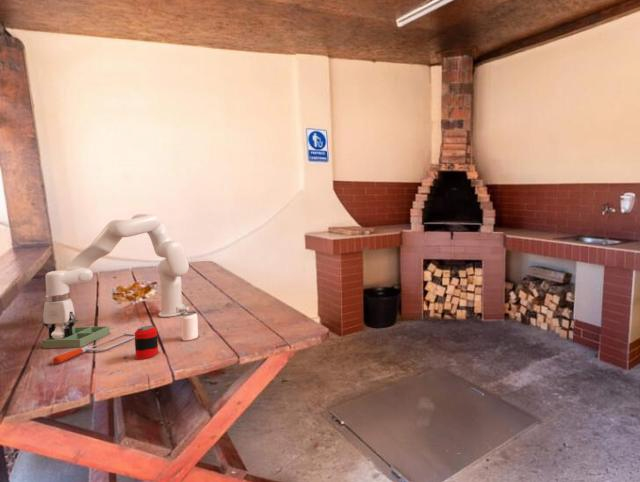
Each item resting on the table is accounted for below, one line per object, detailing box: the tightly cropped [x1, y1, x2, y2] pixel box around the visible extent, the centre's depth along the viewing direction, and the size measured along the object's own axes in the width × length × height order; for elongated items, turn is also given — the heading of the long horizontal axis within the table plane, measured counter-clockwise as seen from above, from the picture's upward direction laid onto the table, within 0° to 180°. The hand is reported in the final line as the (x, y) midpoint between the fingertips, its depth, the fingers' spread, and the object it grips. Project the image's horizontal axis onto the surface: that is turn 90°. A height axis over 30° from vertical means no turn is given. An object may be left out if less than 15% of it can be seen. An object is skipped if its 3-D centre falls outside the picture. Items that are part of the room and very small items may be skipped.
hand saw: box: [52, 332, 135, 365], centre depth 174 cm, size 33×3×10 cm
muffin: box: [51, 324, 66, 340], centre depth 179 cm, size 6×6×7 cm
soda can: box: [134, 325, 159, 360], centre depth 166 cm, size 8×8×12 cm
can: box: [180, 310, 199, 342], centre depth 184 cm, size 6×6×12 cm
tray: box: [41, 325, 111, 349], centre depth 183 cm, size 16×16×4 cm
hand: (61, 336), depth 179 cm, fingers closed on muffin, 6 cm apart
